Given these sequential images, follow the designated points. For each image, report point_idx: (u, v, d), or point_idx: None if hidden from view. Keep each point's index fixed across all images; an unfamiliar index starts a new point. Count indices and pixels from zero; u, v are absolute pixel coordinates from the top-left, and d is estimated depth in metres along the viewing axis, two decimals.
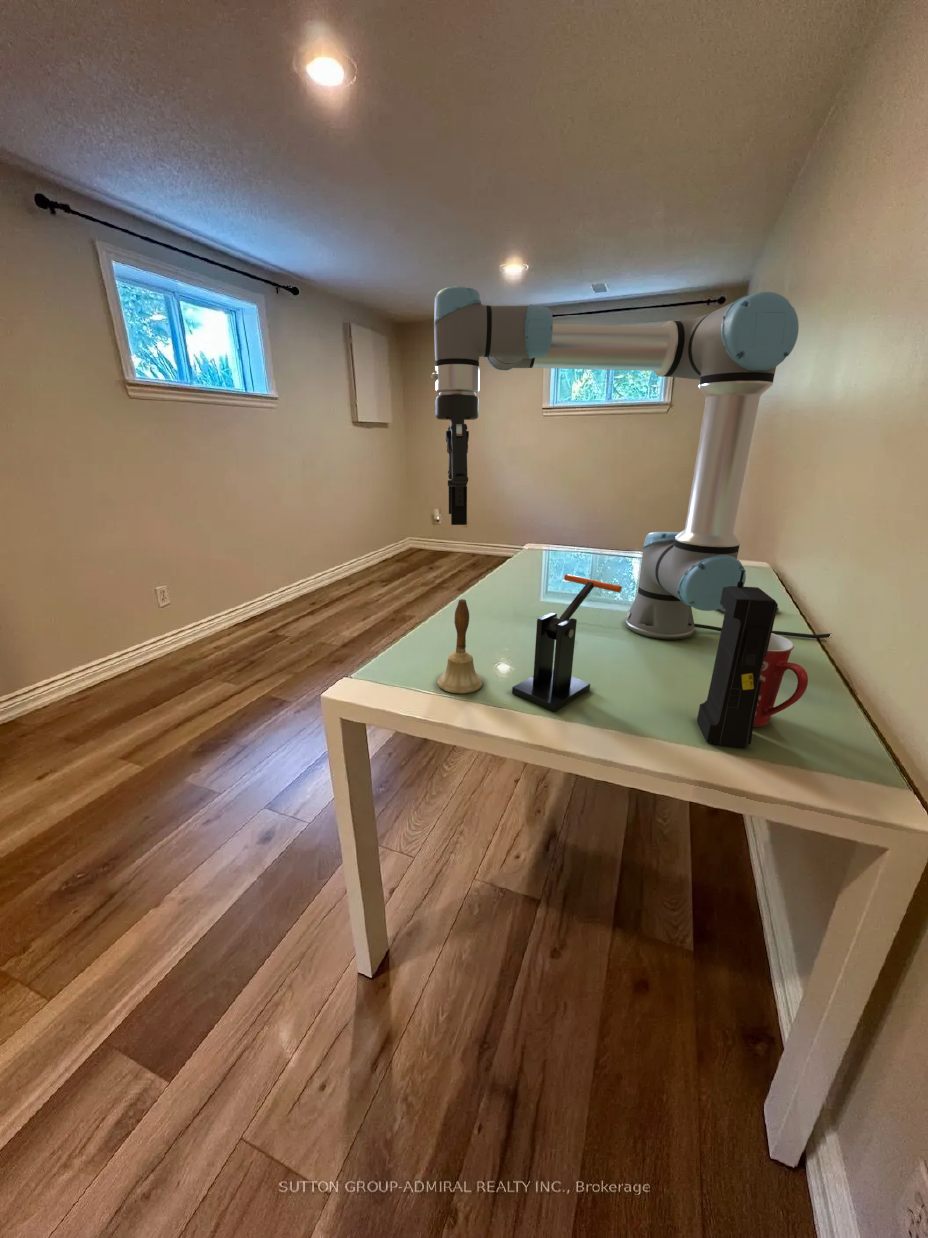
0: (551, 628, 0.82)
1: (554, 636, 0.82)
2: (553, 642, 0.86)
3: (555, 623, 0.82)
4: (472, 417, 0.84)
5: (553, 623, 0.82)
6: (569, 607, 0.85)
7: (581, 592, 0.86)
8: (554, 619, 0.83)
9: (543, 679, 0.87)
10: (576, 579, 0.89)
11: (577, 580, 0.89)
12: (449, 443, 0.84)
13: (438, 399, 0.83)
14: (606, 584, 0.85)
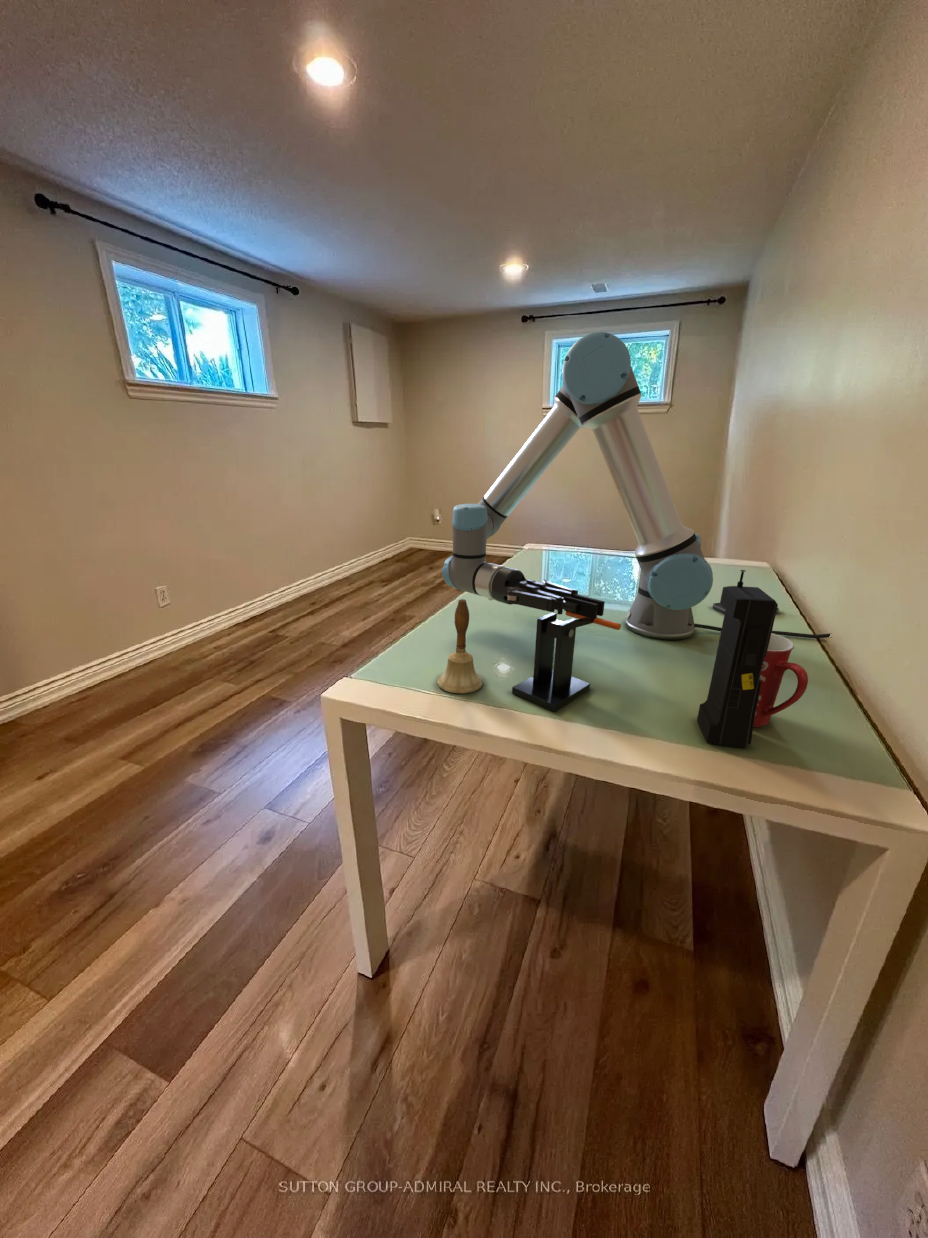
0: (553, 623, 0.82)
1: (553, 632, 0.82)
2: (553, 642, 0.86)
3: (558, 622, 0.83)
4: (507, 578, 1.00)
5: (556, 621, 0.83)
6: None
7: (582, 618, 0.89)
8: (557, 620, 0.83)
9: (543, 679, 0.87)
10: None
11: None
12: None
13: None
14: (607, 620, 0.89)
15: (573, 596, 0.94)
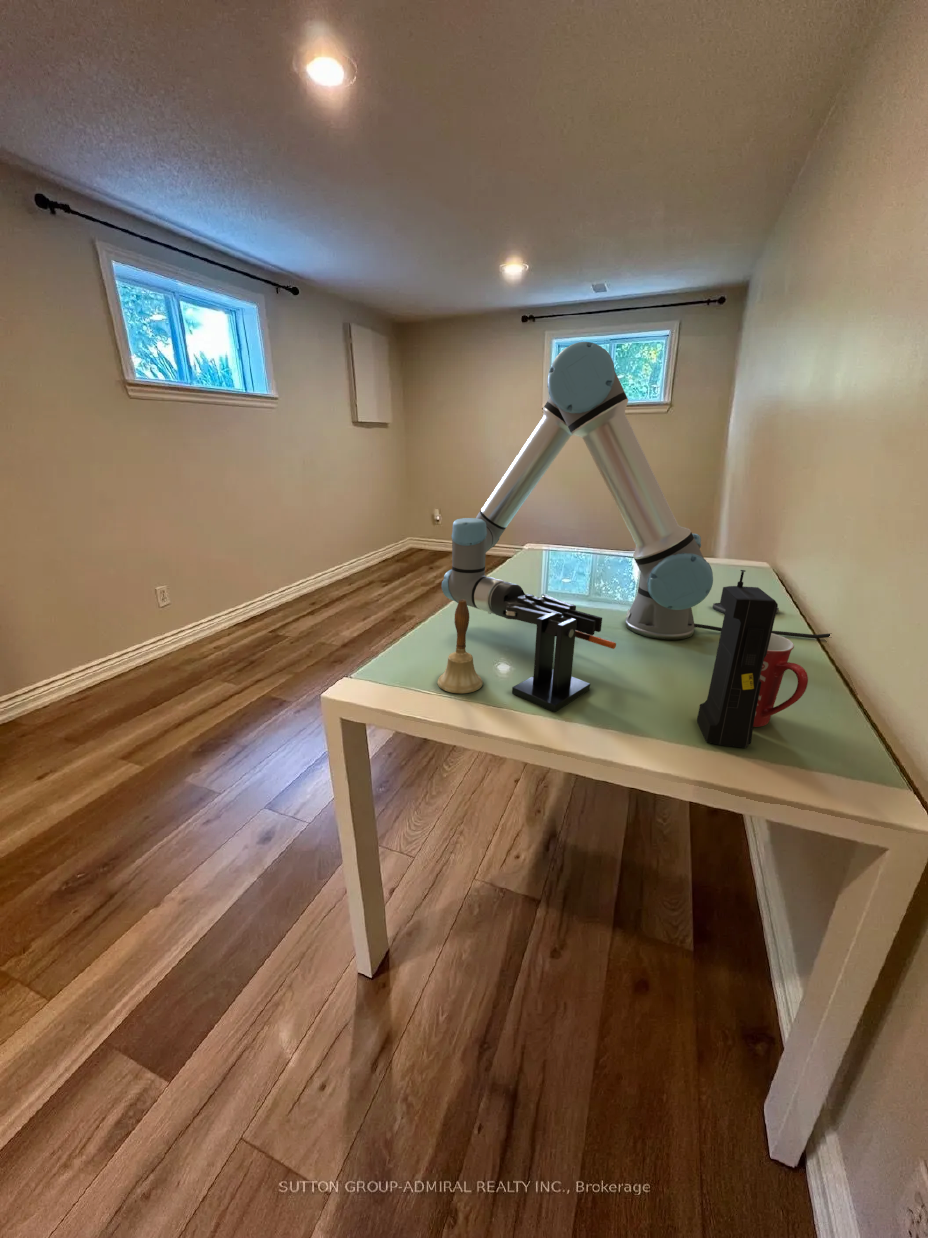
0: (555, 621, 0.82)
1: (553, 630, 0.81)
2: (553, 642, 0.86)
3: None
4: (506, 592, 1.01)
5: None
6: None
7: None
8: None
9: (543, 679, 0.87)
10: None
11: None
12: None
13: None
14: (603, 639, 0.90)
15: (571, 612, 0.95)
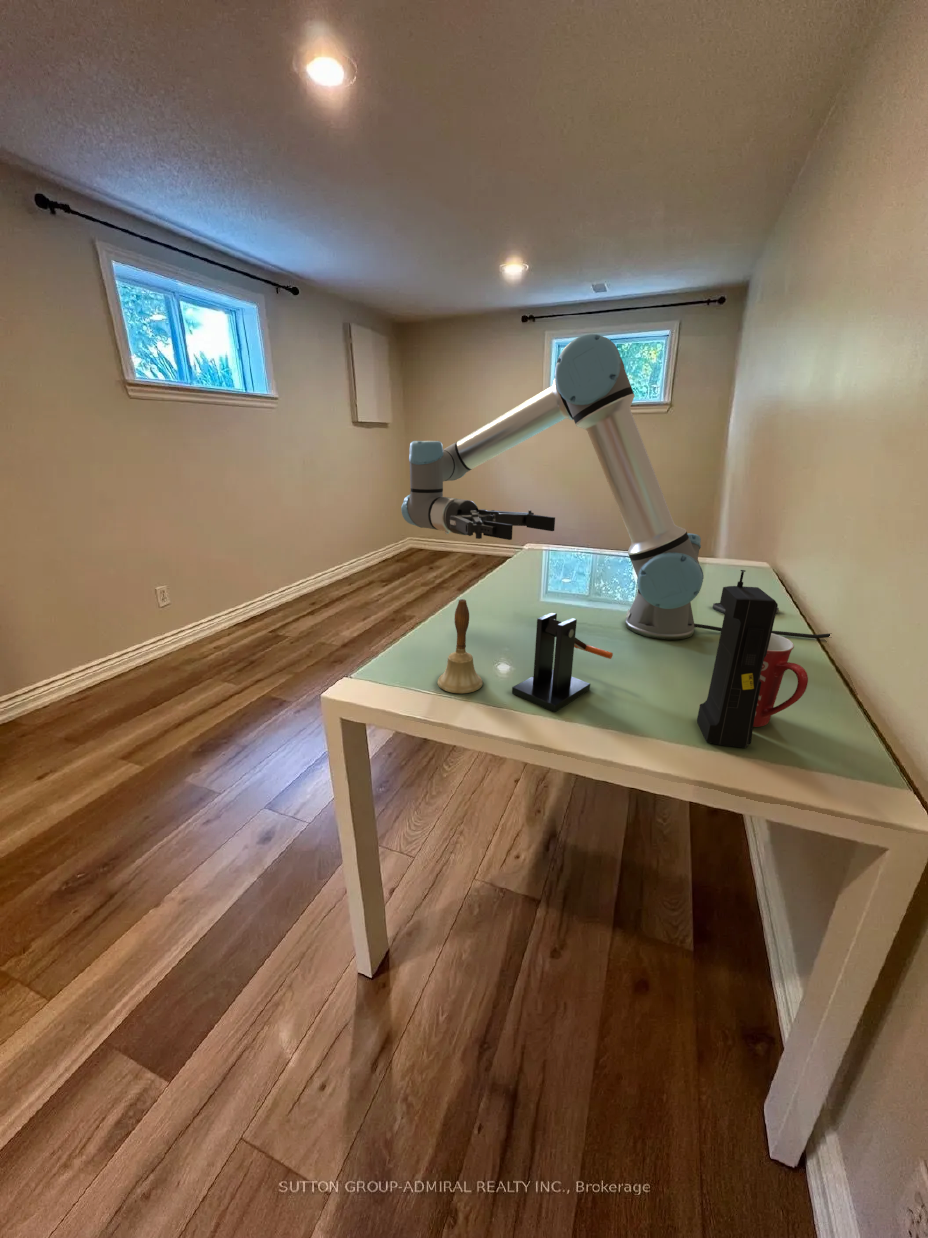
0: (556, 620, 0.82)
1: (554, 628, 0.81)
2: (553, 642, 0.86)
3: None
4: (460, 507, 1.03)
5: None
6: None
7: None
8: None
9: (543, 679, 0.87)
10: None
11: None
12: None
13: (452, 532, 1.08)
14: (599, 649, 0.90)
15: (528, 516, 1.02)
